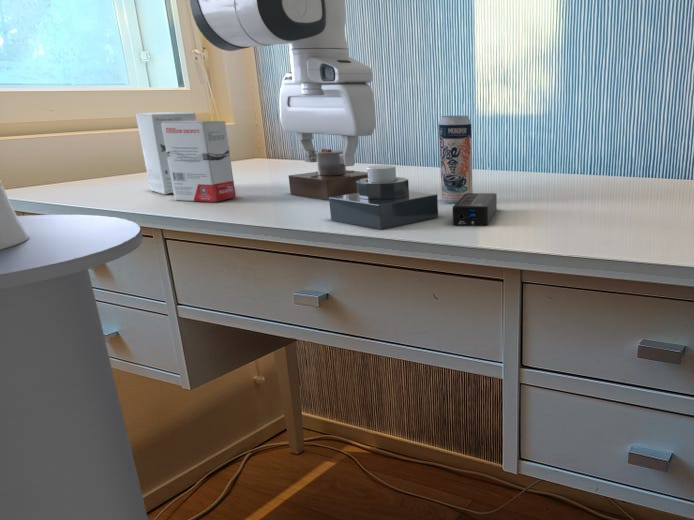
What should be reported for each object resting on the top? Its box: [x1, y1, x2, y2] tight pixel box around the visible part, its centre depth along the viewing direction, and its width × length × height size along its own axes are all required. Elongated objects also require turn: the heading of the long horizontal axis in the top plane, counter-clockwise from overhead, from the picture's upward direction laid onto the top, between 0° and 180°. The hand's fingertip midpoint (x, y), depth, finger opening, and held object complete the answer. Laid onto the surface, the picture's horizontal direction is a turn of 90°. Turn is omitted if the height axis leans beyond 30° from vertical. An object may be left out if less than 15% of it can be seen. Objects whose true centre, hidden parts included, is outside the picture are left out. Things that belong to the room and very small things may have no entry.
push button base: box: [328, 176, 439, 230], centre depth 89 cm, size 10×10×5 cm
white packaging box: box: [135, 111, 197, 195], centre depth 116 cm, size 7×7×13 cm
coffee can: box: [438, 115, 474, 204], centre depth 100 cm, size 5×5×12 cm
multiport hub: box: [452, 192, 498, 226], centre depth 90 cm, size 4×11×2 cm, turn 173°
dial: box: [316, 148, 347, 176], centre depth 110 cm, size 4×4×4 cm
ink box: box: [161, 120, 237, 203], centre depth 106 cm, size 8×5×12 cm, turn 68°
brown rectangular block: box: [288, 169, 368, 201], centre depth 112 cm, size 10×10×3 cm
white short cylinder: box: [366, 164, 397, 182], centre depth 88 cm, size 4×4×2 cm
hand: (329, 163), depth 110 cm, fingers open, 8 cm apart
